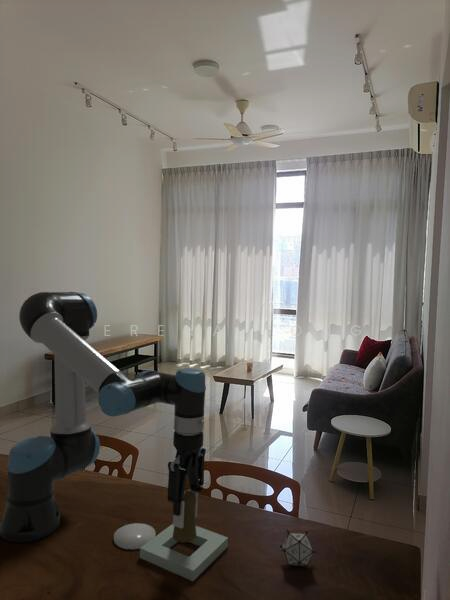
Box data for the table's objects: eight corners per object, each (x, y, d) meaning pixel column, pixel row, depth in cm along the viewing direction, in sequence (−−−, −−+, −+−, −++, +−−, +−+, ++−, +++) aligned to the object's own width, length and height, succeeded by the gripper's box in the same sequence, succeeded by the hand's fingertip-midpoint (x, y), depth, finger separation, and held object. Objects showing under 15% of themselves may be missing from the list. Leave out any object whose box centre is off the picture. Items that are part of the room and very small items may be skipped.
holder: (139, 557, 109) (140, 547, 109) (178, 528, 123) (178, 519, 123) (193, 581, 101) (193, 570, 101) (227, 546, 115) (228, 537, 115)
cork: (192, 544, 108) (194, 500, 108) (169, 540, 110) (171, 497, 109) (199, 530, 114) (200, 489, 114) (176, 527, 115) (178, 486, 115)
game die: (300, 584, 107) (305, 568, 100) (271, 560, 111) (274, 543, 104) (318, 553, 112) (324, 536, 106) (290, 532, 116) (294, 514, 110)
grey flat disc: (104, 540, 116) (104, 537, 116) (133, 522, 125) (133, 519, 125) (136, 554, 110) (136, 551, 110) (163, 534, 120) (163, 531, 120)
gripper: (179, 444, 101) (175, 543, 102) (219, 424, 117) (216, 510, 118) (153, 437, 105) (150, 533, 106) (196, 419, 121) (193, 502, 122)
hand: (185, 520), depth 112 cm, fingers closed on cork, 5 cm apart
